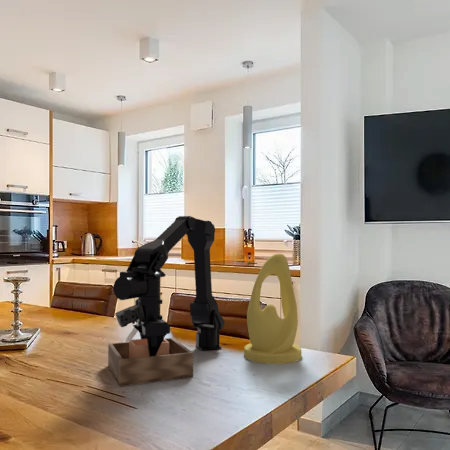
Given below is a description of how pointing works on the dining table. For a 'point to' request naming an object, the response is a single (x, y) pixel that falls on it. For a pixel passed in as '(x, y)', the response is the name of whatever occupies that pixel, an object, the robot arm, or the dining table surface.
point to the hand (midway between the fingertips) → (149, 355)
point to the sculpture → (273, 319)
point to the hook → (131, 335)
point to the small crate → (145, 348)
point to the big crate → (149, 364)
